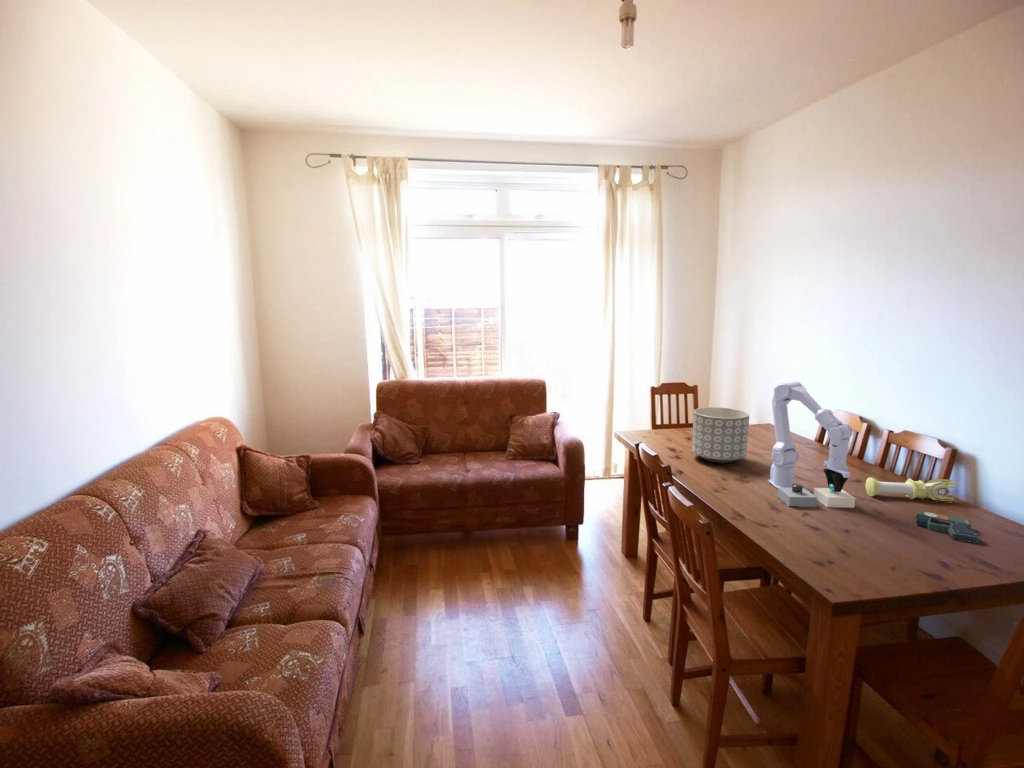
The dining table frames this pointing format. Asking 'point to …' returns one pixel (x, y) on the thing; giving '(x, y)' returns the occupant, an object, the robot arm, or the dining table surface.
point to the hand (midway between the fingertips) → (834, 489)
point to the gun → (947, 525)
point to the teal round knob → (832, 488)
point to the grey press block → (797, 497)
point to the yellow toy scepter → (912, 488)
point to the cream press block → (834, 498)
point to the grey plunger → (797, 488)
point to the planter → (720, 434)
